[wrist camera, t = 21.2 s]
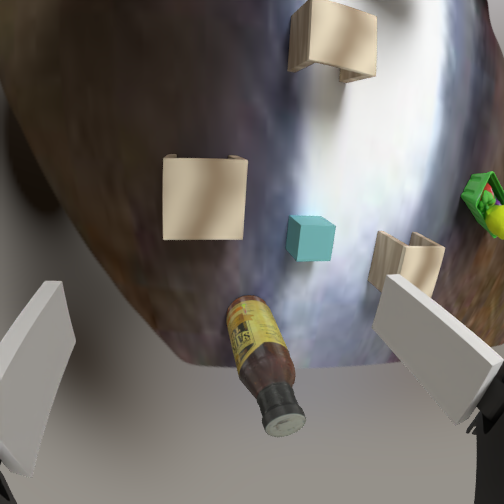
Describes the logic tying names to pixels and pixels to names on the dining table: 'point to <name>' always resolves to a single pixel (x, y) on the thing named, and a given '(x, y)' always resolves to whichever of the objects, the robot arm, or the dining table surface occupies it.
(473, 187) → the fruit basket
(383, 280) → the cover
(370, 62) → the cover
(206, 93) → the dining table surface
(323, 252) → the teal cube
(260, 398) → the sauce bottle
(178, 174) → the cover
